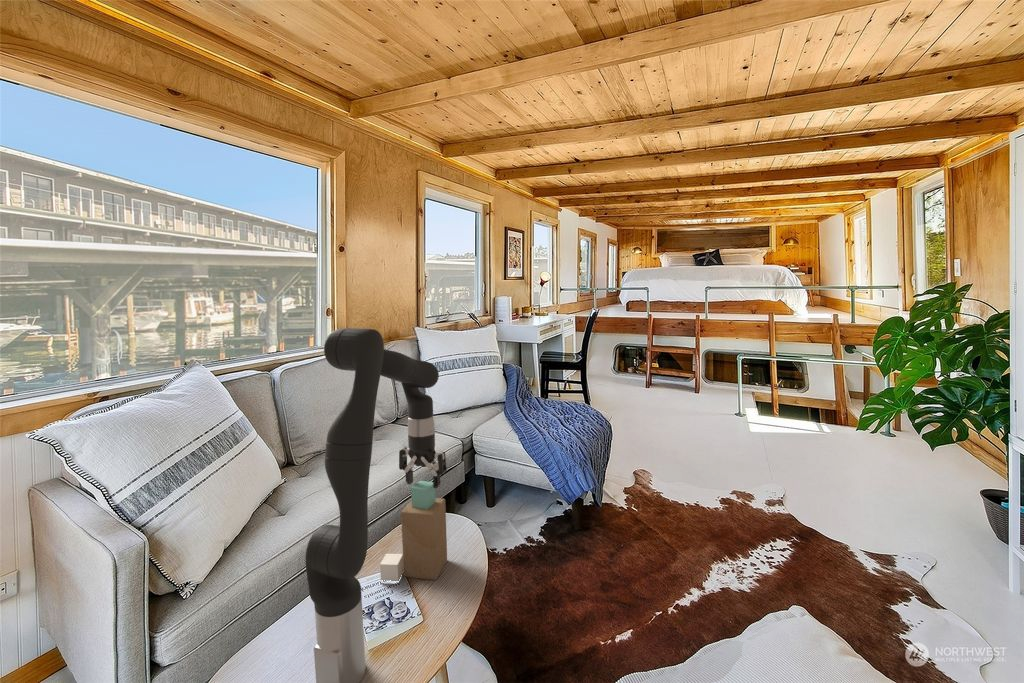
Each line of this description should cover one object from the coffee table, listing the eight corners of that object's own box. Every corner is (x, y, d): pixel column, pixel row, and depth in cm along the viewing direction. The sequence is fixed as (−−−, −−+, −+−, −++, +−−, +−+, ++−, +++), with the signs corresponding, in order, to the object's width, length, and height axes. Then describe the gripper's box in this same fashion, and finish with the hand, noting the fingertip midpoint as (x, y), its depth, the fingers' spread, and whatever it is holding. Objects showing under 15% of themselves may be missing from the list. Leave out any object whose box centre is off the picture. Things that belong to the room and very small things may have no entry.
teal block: (427, 509, 125) (426, 489, 125) (411, 507, 127) (411, 487, 126) (435, 501, 130) (434, 482, 130) (420, 499, 132) (419, 480, 131)
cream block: (398, 584, 124) (397, 564, 123) (381, 584, 124) (380, 564, 123) (403, 573, 129) (402, 554, 128) (386, 572, 129) (386, 553, 128)
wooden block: (435, 581, 125) (433, 514, 123) (403, 577, 127) (400, 511, 125) (447, 560, 135) (445, 498, 132) (417, 556, 137) (414, 495, 134)
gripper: (392, 433, 125) (394, 487, 127) (437, 437, 120) (439, 494, 122) (406, 425, 132) (408, 477, 134) (449, 429, 127) (451, 483, 129)
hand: (423, 485), depth 128 cm, fingers open, 8 cm apart
